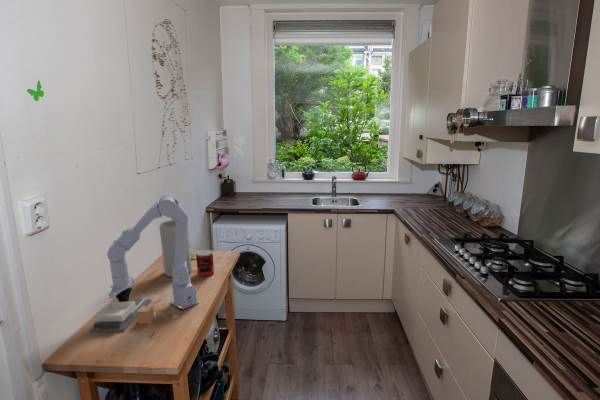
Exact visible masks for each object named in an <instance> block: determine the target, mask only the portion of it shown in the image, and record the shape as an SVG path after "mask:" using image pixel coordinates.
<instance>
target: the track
mask: <svg viewBox="0 0 600 400" xmlns="http://www.w3.org/2000/svg"><path fill="white" fill-rule="evenodd" d="M129 302H135V303H136V308H135V309H134V310H133V311H132V313H130V314H129V315H128V317H127V318H126V319H125V320H124V321H123V322H122V323H120V322H96V321H95V322H94V323H93V326H92V327H91V328H90V332H93V333H95V332H97V333H98V332H100V333H101V332H103V333H104V332H106V333H108V332H109V333H110V332H115V333H117V332H118V333H119V332H120V333H121V332H125V331H126V330H127V329H128V328H129V326H130V325H131V324H132V323H133V322H134V321H135V319H136V318H137V319H138V315H137V311H138V310H139V309H140V308H141V307H142V306H149V304H150V303H151V302H152V300H151V298H150V299H149V298H148V299H147V298H139V299H135V298H133V299H132V298H131V299H130V298H129Z"/></svg>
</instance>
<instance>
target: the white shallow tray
mask: <svg viewBox="0 0 600 400" xmlns="http://www.w3.org/2000/svg"><path fill="white" fill-rule="evenodd" d="M135 308H136V303H135V302H119V301H109V302H108V303H107V304H105V305H104V306H103V307H102V308H101V309H100V310H99V311H98V312H97V313H95V314H94V320H95V322H120V323H122V322H123V321H124V320H125V319H126V318H127V317H128V315H129V314H130V313H132V311H133V310H134V309H135Z"/></svg>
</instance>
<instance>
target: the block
mask: <svg viewBox="0 0 600 400" xmlns="http://www.w3.org/2000/svg"><path fill="white" fill-rule="evenodd" d="M137 315H138V316H137V323H138V325H150V324H151V323H152V322H153V320H154V319H155V315H154V307H153V305H152V306H151V305H150V306H149V305H147V306H142V307H141V308H140V309H139V310H138V311H137Z"/></svg>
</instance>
